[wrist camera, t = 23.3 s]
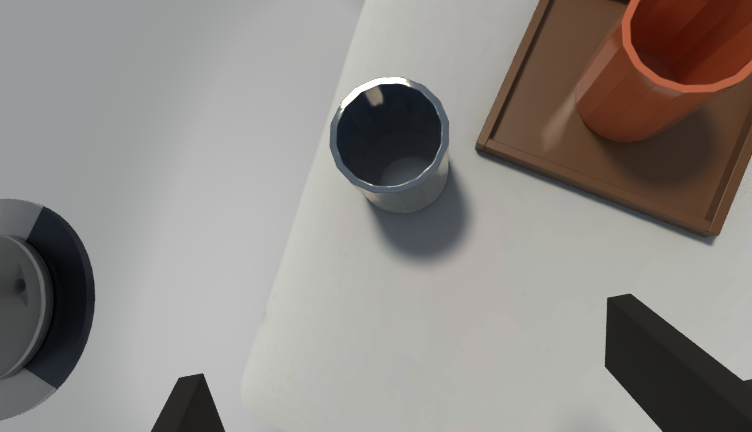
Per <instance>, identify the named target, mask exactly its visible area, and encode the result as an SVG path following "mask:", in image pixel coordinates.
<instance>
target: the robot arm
mask: <svg viewBox="0 0 752 432" xmlns="http://www.w3.org/2000/svg"><path fill="white" fill-rule="evenodd" d="M53 301H54V295H53V286H52V280H51V276H50V273H49V270H48V268H47V266H46V264H45V262H44V260H43V258H42V257H41V256H40V254H39V253H38V252H37V251H36V250H35V249H34V247H32V246H31V245H30V244H29V243H27V242H26V241H24V240H22V239H20V238H17V237H15V236H11V235H4V234H0V380H2V379H5V378H7V377H9V376H11V375H13V374H15V373H16V372H18V371H19V370H20V369H22V368H23V367H24V366H25V365H26V364H27V363H28V362H29V361H30V360H31V359H32V358H33V356H34V355H35V354H36V352H37V351H38V349H39V348H40V346H41V344H42V343H43V341H44V339H45V336H46V334H47V332H48V329H49V326H50V322H51V318H52V312H53ZM605 367H606V368H607V369H608V371H609V372H610V373H611V374H612V375H613V376H614V377H615V378H616V380H617V381H618V382H619V383H620V384H621V385H622V386H623V387H624V389H625V390H626V391H627V392H628V393H629V394H630V395H631V396H632V398H633V399H634V400H635V401H636V402H637V403H638V404H639V405H640V407H641V408H642V409H643V410H644V411H645V412H646V413H647V414H648V416H649V417H650V418H651V419H652V420H653V421H654V422H655V423H656V425H657V426H658V427H659V428H660V429H661V430H662V431H663V432H752V379H751V380H746V381H743V380H741V379H740V378H739V377H737V376H736V375H735V374H733V373H732V372H731V371H730V370H728V369H727V368H726V367H724V366H723V365H722V364H721V363H719V362H718V361H717V360H715V359H714V358H713V357H712V356H710V355H709V354H708V353H706V352H705V351H704V350H703V349H701V348H700V347H699V346H697V345H696V344H695V343H694V342H692V341H691V340H690V339H688V338H687V337H686V336H684V335H683V334H682V333H681V332H679V331H678V330H677V329H675V328H674V327H673V326H672V325H670V324H669V323H668V322H666V321H665V320H664V319H663V318H661V317H660V316H659V315H657V314H656V313H655V312H654V311H652V310H651V309H650V308H648V307H647V306H646V305H645V304H643V303H642V302H641V301H639V300H638V299H637V298H636V297H634V296H633V295H632V294H625V295H620V296H615V297H609V298H607V322H606V349H605ZM151 432H225V430H224V427H223V425H222V423H221V420H220V417H219V414H218V412H217V409H216V406H215V404H214V401H213V398H212V396H211V393H210V391H209V388H208V385H207V383H206V380H205V377H204V374H203V373H202V374H197V375H191V376H186V377H181V378H179V379H178V381H177V383H176V384H175V386H174V388H173V390H172V392H171V394H170V396H169V398H168V400H167V402H166V404H165V406H164V408H163V410H162V412H161V413H160V415H159V417H158V419H157V421H156V423H155V425H154V427H153V429H152V431H151Z"/></svg>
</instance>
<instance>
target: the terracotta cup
mask: <svg viewBox="0 0 752 432" xmlns="http://www.w3.org/2000/svg"><path fill="white" fill-rule="evenodd" d="M751 72H752V0H630V1H629V3H628V4H627V6H626V7H625V9H624V10H623V12H622V13H621V15H620V16H619V18H618V19H617V21H616V22H615V24H614V25H613V27H612V28H611V30H610V31H609V33H608V34H607V36H606V37H605V38H604V40H603V41H602V43H601V44H600V46H599V47H598V49H597V50H596V52H595V53H594V55H593V56H592V58H591V59H590V61H589V62H588V64H587V65H586V67H585V68H584V70H583V72H582V74H581V76H580V78H579V80H578V83H577V86H576V91H575V101H576V106H577V110H578V112H579V115H580V116H581V118H582V120H583V121H584V122H585V124H586V125H587V126H588V127H589V128H590V129H591V130H593V131H594V132H595V133H597V134H598V135H600V136H602V137H604V138H607V139H609V140H613V141H617V142H638V141H643V140H646V139H649V138H651V137H654V136H656V135H657V134H660V133H662V132H664V131H665V130H667V129H668V128H670V127H672V126H673V125H675V124H676V123H678V122H679V121H681V120H682V119H684V118H685V117H687V116H689V115H690V114H692V113H693V112H695V111H696V110H698V109H699V108H701V107H702V106H704V105H706V104H707V103H709V102H710V101H712V100H713V99H715V98H716V97H718V96H719V95H721V94H723V93H724V92H726V91H727V90H729V89H730V88H732V87H733V86H735V85H736V84H738V83H740V82H741V81H742V80H743V79H745V78H746V77H747V76H748V75H749V74H750V73H751Z"/></svg>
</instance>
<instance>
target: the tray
mask: <svg viewBox="0 0 752 432" xmlns="http://www.w3.org/2000/svg"><path fill="white" fill-rule="evenodd" d="M629 1H630V0H540V1H539V3H538V5H537V8H536V10H535V12H534V14H533V17H532V19H531V21H530V23H529V26H528V28H527V30H526V32H525V35H524V37H523V39H522V41H521V44H520V46H519V48H518V50H517V53H516V55H515V57H514V59H513V61H512V64H511V66H510V68H509V70H508V73H507V75H506V77H505V79H504V82H503V84H502V86H501V88H500V91H499V93H498V95H497V97H496V100H495V102H494V104H493V106H492V109H491V111H490V113H489V115H488V117H487V120H486V122H485V124H484V126H483V129H482V131H481V133H480V135H479V138H478V140H477V142H476V146H475V149H477V150H480V151H483V152H485V153H488V154H490V155H493V156H496V157H498V158H501V159H503V160H506V161H509V162H511V163H514V164H516V165H519V166H522V167H524V168H527V169H529V170H532V171H535V172H537V173H540V174H542V175H545V176H548V177H550V178H553V179H555V180H558V181H561V182H563V183H566V184H568V185H571V186H574V187H576V188H579V189H581V190H584V191H587V192H589V193H592V194H594V195H597V196H600V197H602V198H605V199H607V200H610V201H613V202H615V203H618V204H620V205H623V206H626V207H628V208H631V209H633V210H636V211H639V212H641V213H644V214H646V215H649V216H652V217H654V218H657V219H659V220H662V221H665V222H667V223H670V224H672V225H675V226H678V227H680V228H683V229H685V230H688V231H691V232H693V233H696V234H698V235H701V236H704V237H711V236H718V235H719V234H720V231H721V229H722V226H723V224H724V222H725V219H726V217H727V214H728V212H729V209H730V207H731V204H732V202H733V199H734V197H735V195H736V192H737V190H738V187H739V185H740V182H741V180H742V177H743V175H744V173H745V170H746V168H747V165H748V163H749V160H750V158H751V155H752V72H751V73H750V74H749V75H748V76H747V77H746V78H745V79H743V80H742V81H741V82H740V83H738V84H736V85H735V86H733V87H732V88H730V89H729V90H727V91H726V92H724V93H723V94H721V95H719V96H718V97H716V98H715V99H713V100H712V101H710V102H709V103H707V104H706V105H704V106H702V107H701V108H699V109H698V110H696V111H695V112H693V113H692V114H690V115H689V116H687V117H685V118H684V119H682V120H681V121H679V122H678V123H676V124H675V125H673V126H672V127H670V128H668V129H667V130H665V131H664V132H662V133H660V134H657V135H656V136H654V137H651V138H649V139H646V140H643V141H638V142H617V141H613V140H609V139H607V138H604V137H602V136H600V135H598V134H597V133H595V132H594V131H593V130H591V129H590V128H589V127H588V126H587V125H586V124H585V122H584V121H583V120H582V118H581V116H580V115H579V112H578V110H577V106H576V101H575V91H576V86H577V83H578V80H579V78H580V76H581V74H582V72H583V70H584V68H585V67H586V65H587V64H588V62H589V61H590V59H591V58H592V56H593V55H594V53H595V52H596V50H597V49H598V47H599V46H600V44H601V43H602V41H603V40H604V38H605V37H606V36H607V34H608V33H609V31H610V30H611V28H612V27H613V25H614V24H615V22H616V21H617V19H618V18H619V16H620V15H621V13H622V12H623V10H624V9H625V7H626V6H627V4H628V3H629Z"/></svg>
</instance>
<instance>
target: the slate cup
mask: <svg viewBox="0 0 752 432" xmlns="http://www.w3.org/2000/svg"><path fill="white" fill-rule="evenodd" d="M330 149H331V152H332V155H333V158H334V161H335V163H336V166H337V168H338V169H339V170H340V171H341V172H342V174H343V175H344V176H345V177H346V178H347V179H348V180H349V181H350V182H351V183H352V184H353V185H354V186H355V187H356V188H357V189H358V190H359V191H360V192H362V193H363V194H364V195H365V196H366V197H367V198H368V199H369V200H370V201H371V202H372V203H373V204H374V205H376V206H378V207H380V208H382V209H384V210H386V211H389V212H393V213H411V212H415V211H418V210H421V209H423V208H425V207H426V206H428V205H430V204H431V203H432V202H433V201H434V200H435V199H436V198H437V197H438V196H439V194H440V193H441V192H442V190H443V188H444V186H445V183H446V180H447V178H448V153H449V121H448V118H447V116H446V114H445V111H444V109H443V106H442V104H441V102H440V100H439V99H438V98H437V97H436V96H435V95H434V94H432V93H431V92H430V91H429V90H428V89H427V88H426V87H425V86H424V85H422V84H419V83H416V82H414V81H411V80H408V79H405V78H403V77H393V78H377V79H375V80H373V81H371V82H368V83H366V84H364V85H361V86H359V87H357V88H356V89H355V90H354V91H353V92H352V93H351V94H350V95H348V96H347V97H346V98H345V99H344V100H343V101H342V102H341V104H340V105H339V108H338V110H337V112H336V114H335V116H334V118H333V120H332V122H331V128H330Z"/></svg>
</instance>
